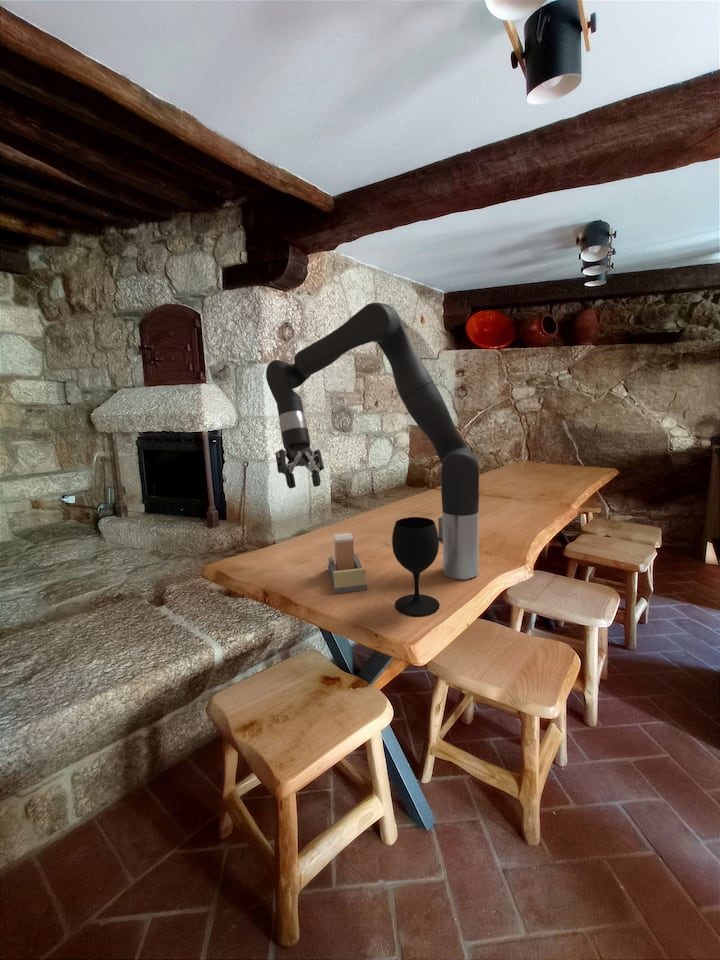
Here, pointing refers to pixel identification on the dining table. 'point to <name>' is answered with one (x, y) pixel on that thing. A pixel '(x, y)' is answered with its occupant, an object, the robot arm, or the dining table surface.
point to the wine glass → (416, 560)
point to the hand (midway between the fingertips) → (305, 487)
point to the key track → (347, 577)
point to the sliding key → (344, 551)
